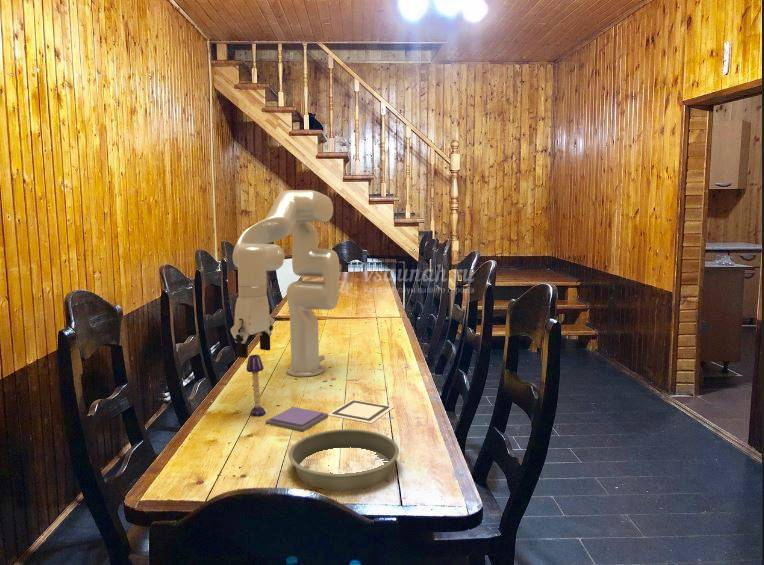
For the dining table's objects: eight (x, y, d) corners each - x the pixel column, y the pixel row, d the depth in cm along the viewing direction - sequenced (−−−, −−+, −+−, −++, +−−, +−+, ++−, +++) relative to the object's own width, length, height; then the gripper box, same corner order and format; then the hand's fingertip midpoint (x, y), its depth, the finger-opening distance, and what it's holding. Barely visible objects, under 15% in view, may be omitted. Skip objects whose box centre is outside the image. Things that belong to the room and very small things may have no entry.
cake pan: (320, 440, 152) (320, 423, 152) (413, 455, 144) (413, 437, 143) (267, 483, 130) (266, 463, 129) (374, 504, 121) (374, 482, 120)
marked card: (352, 400, 181) (352, 398, 181) (394, 407, 175) (394, 406, 175) (326, 415, 169) (326, 413, 169) (371, 423, 163) (371, 422, 163)
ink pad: (292, 409, 173) (292, 405, 173) (328, 416, 168) (327, 411, 168) (265, 423, 163) (265, 418, 162) (303, 431, 157) (303, 426, 157)
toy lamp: (248, 417, 167) (246, 358, 165) (247, 411, 172) (245, 354, 169) (266, 415, 169) (264, 357, 166) (264, 410, 173) (263, 352, 171)
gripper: (261, 287, 174) (262, 345, 176) (219, 294, 159) (221, 358, 161) (283, 288, 171) (284, 348, 173) (242, 296, 156) (244, 362, 158)
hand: (254, 353), depth 167 cm, fingers open, 9 cm apart
